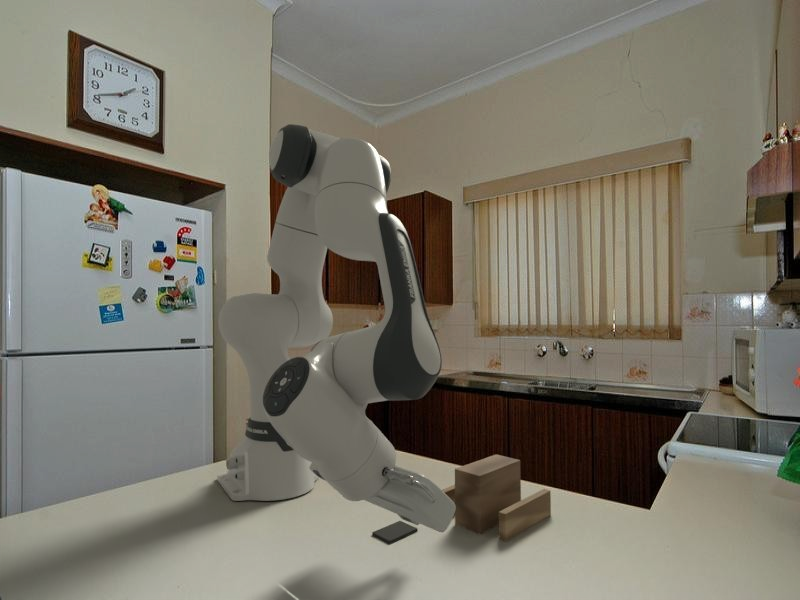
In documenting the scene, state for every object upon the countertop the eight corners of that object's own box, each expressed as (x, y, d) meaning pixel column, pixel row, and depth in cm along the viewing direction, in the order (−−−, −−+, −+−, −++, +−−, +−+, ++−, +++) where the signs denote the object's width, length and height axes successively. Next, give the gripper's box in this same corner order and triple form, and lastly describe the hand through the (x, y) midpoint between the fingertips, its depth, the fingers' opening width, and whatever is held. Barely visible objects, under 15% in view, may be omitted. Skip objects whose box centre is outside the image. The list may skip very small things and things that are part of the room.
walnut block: (455, 524, 74) (454, 468, 75) (496, 504, 83) (496, 454, 83) (480, 534, 71) (479, 476, 71) (521, 512, 79) (520, 460, 80)
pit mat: (372, 534, 71) (372, 532, 71) (399, 523, 75) (399, 520, 75) (389, 543, 68) (389, 541, 68) (417, 530, 72) (417, 528, 72)
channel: (438, 514, 78) (438, 491, 78) (485, 493, 88) (485, 472, 88) (505, 541, 68) (505, 514, 69) (550, 514, 78) (550, 490, 78)
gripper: (433, 457, 52) (483, 518, 59) (328, 428, 67) (378, 480, 73) (405, 507, 49) (462, 567, 55) (302, 466, 63) (356, 517, 70)
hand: (413, 517), depth 64 cm, fingers closed
